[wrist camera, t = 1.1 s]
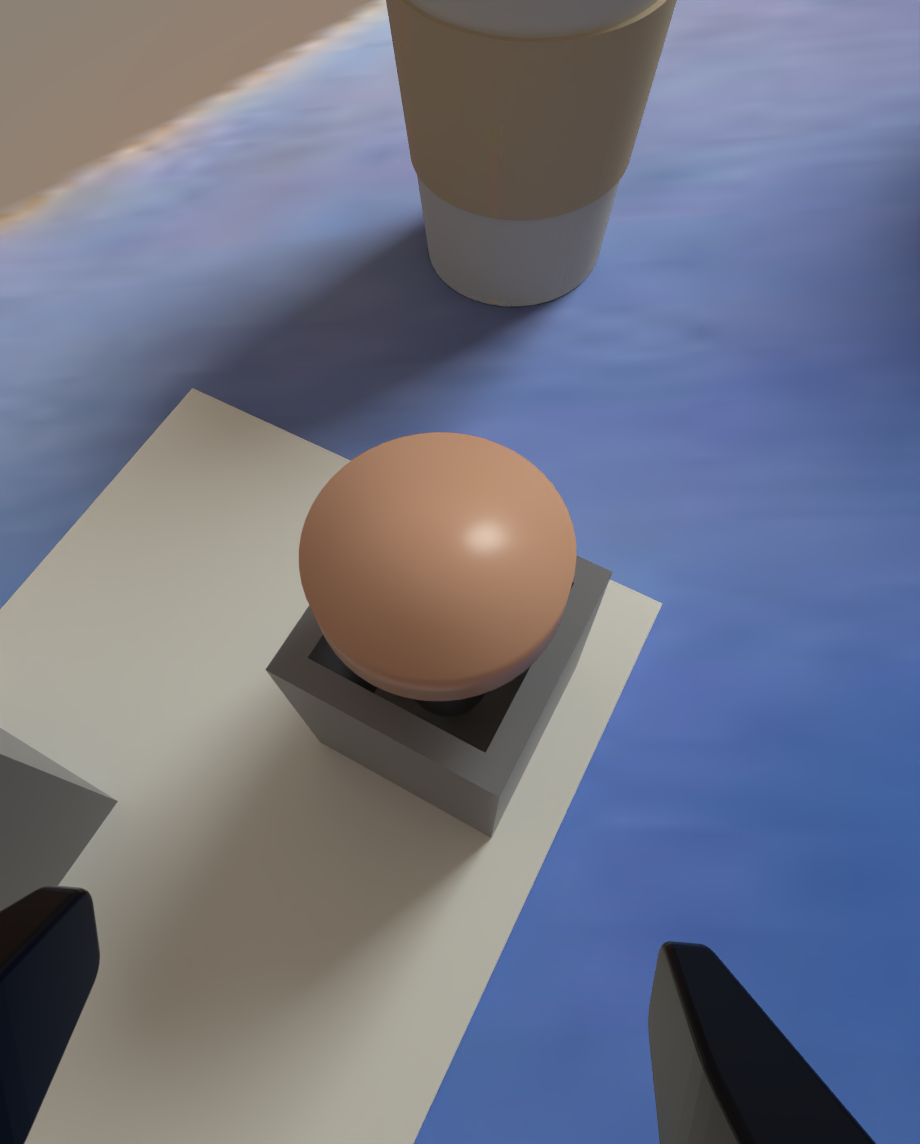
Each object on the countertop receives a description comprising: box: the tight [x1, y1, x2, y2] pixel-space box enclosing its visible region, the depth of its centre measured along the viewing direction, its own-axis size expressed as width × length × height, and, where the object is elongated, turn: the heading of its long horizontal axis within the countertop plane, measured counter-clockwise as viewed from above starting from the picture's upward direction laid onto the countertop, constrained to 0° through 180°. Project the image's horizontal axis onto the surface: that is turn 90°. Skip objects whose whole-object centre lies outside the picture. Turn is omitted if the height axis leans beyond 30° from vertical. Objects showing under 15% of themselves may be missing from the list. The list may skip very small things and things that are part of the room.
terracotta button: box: [299, 432, 576, 716], centre depth 16 cm, size 5×5×7 cm
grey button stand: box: [0, 388, 662, 1144], centre depth 18 cm, size 19×17×7 cm
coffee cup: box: [386, 0, 677, 307], centre depth 24 cm, size 9×9×15 cm
